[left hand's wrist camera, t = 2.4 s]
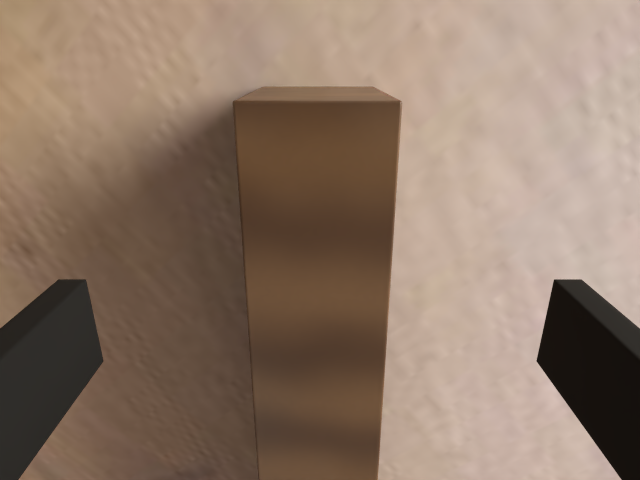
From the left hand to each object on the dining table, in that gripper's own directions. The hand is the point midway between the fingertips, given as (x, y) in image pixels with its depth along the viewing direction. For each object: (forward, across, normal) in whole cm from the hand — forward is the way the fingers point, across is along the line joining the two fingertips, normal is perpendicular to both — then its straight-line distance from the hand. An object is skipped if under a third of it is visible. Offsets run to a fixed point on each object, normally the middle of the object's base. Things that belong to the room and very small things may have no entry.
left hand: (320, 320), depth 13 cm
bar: (+12, 0, -26) cm, 28 cm away
